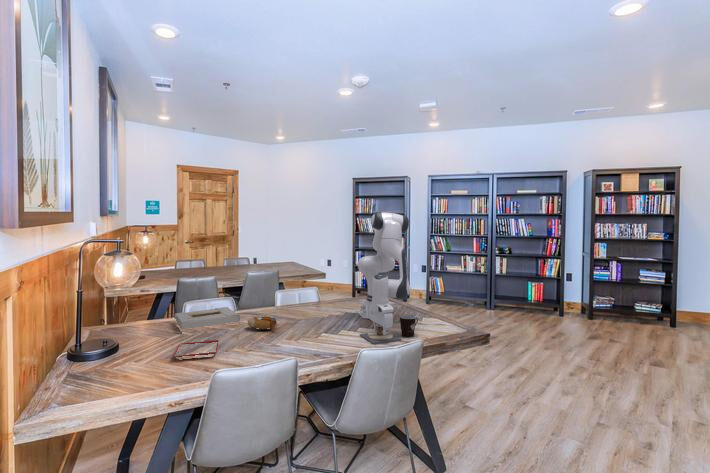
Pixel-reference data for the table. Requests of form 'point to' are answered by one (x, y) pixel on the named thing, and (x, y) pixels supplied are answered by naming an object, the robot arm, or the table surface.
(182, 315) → the box
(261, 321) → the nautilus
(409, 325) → the coffee mug
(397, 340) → the mat
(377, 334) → the lid
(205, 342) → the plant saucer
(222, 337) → the table surface
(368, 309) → the robot arm
